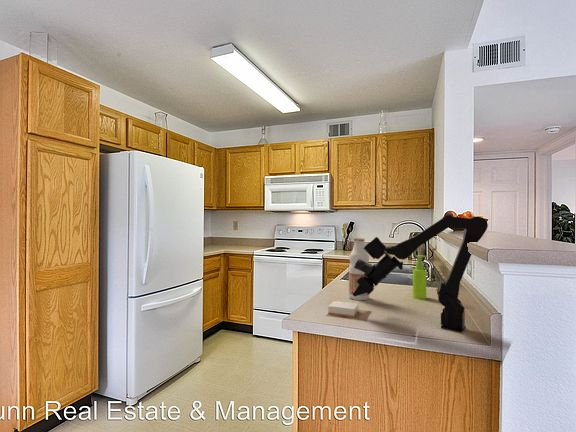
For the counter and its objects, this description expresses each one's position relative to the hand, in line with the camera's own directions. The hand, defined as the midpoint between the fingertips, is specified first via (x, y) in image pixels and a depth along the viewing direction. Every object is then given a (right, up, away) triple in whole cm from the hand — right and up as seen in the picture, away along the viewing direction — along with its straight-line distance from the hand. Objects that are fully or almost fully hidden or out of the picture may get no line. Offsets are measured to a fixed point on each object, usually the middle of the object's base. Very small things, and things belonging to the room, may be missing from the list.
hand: (353, 295), depth 121 cm
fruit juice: (+8, -8, +26) cm, 28 cm away
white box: (+1, -6, 0) cm, 6 cm away
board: (-2, -8, 0) cm, 8 cm away
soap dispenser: (+38, -8, +28) cm, 47 cm away
